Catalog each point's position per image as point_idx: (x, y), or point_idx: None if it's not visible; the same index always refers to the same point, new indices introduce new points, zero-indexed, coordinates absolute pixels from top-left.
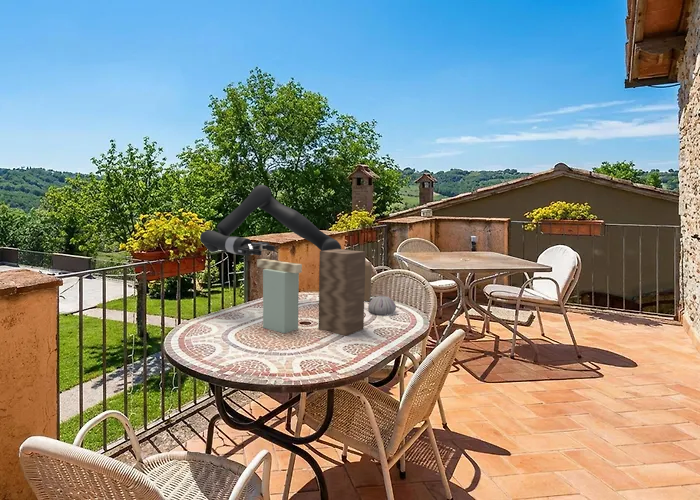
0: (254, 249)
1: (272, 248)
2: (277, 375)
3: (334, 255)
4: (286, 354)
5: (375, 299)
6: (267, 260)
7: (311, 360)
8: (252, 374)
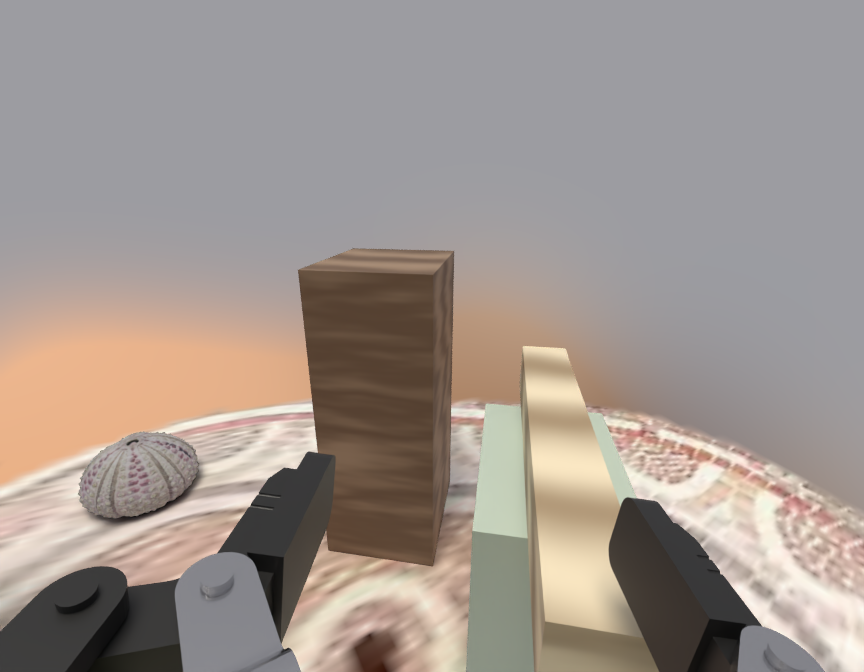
0: (725, 597)
1: (328, 496)
2: (770, 483)
3: (445, 270)
4: (686, 527)
5: (147, 459)
6: (593, 502)
7: (649, 472)
8: (837, 521)
